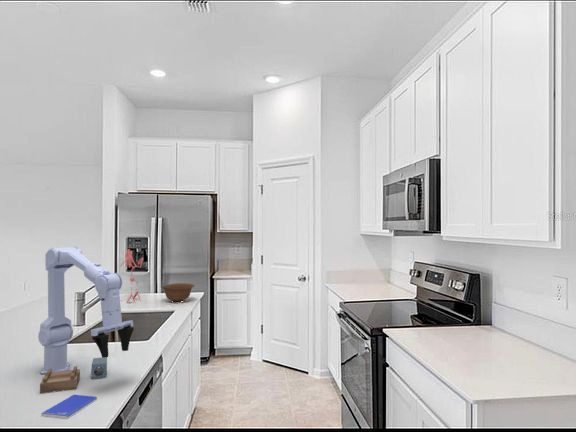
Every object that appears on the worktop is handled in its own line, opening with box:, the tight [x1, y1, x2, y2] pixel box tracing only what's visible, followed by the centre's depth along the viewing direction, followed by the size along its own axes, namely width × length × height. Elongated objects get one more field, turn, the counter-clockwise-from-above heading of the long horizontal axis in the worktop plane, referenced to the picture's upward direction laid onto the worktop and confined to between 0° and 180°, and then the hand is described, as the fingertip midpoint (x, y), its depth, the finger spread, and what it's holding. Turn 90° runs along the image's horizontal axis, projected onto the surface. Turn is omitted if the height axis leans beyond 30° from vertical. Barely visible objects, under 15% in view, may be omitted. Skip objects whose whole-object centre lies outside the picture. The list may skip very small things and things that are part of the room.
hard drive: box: [40, 394, 98, 420], centre depth 118 cm, size 2×8×12 cm
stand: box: [39, 365, 81, 394], centre depth 134 cm, size 10×10×4 cm
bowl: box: [160, 282, 195, 302], centre depth 276 cm, size 22×22×11 cm
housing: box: [90, 356, 108, 380], centre depth 143 cm, size 7×4×5 cm, turn 21°
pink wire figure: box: [120, 248, 145, 303], centre depth 276 cm, size 15×26×35 cm, turn 178°
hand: (115, 353), depth 133 cm, fingers open, 7 cm apart
